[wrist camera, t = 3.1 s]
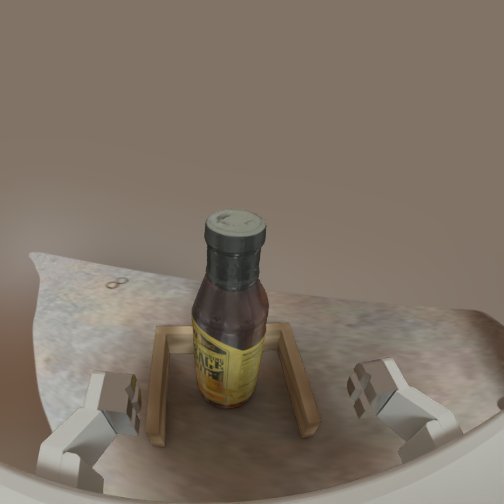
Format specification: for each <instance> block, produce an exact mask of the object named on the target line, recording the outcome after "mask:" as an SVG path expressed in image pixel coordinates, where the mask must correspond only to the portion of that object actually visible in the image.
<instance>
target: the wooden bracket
mask: <svg viewBox="0 0 504 504" xmlns="http://www.w3.org/2000/svg"><path fill="white" fill-rule="evenodd" d="M266 350H278V353H279V357H280V360H281V364H282V368H283V372H284V375H285V379H286V383H287V387H288V390H289V394H290V398H291V402H292V405H293V409H294V413H295V417H296V420H297V424H298V428H299V432H300V435H301V438H306V437H312V436H313V435H314V433H315V432H316V430H317V428H318V426H319V425H320V423H321V418H320V415H319V412H318V409H317V406H316V403H315V400H314V397H313V394H312V391H311V388H310V384H309V381H308V378H307V375H306V372H305V369H304V366H303V363H302V360H301V357H300V354H299V351H298V348H297V345H296V342H295V339H294V336H293V333H292V330H291V327H290V324H289V322H286V323H271V324H266V334H265V340H264V345H263V351H266ZM170 353H171V354H191V353H194V344H193V327H192V326H157V327H156V334H155V341H154V348H153V356H152V364H151V373H150V382H149V391H148V402H147V413H146V426H145V433H146V434H147V436H148V438H149V440H150V442H151V443H152V445H153V446H158V447H165V436H166V405H167V385H168V369H169V355H170Z"/></svg>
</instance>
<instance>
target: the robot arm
mask: <svg viewBox="0 0 504 504" xmlns="http://www.w3.org/2000/svg"><path fill="white" fill-rule="evenodd" d="M354 371H355V372H354V373H353V374H352V375H351V376H350V377H349V379H348V383H347V389H348V393H349V396H350V398H352V399H353V400H354V401H355V404H354V408H355V411H356V413H357V416H358V418H359V419H363V418H367V417H372V416H376V415H377V417H378V418H379V419H380V420H382V421H383V422H384V423H385V424H386V425H387V426H388V427H390V428H391V429H392V430H393V431H394V432H395V433H397V434H398V435H399V436H400V437H401V438H402V439H404V440H405V441H406V443H405V444H404V445H403V446H402V447H401V448H400V449H399V451H398V452H399V455H400V457H401V460H402V462H403V464H401V465H398V466H396V467H393V468H391V469H388V470H385V471H382V472H380V473H377V474H374V475H371V476H368V477H365V478H362V479H358V480H355V481H352V482H348V483H345V484H341V485H337V486H333V487H329V488H325V489H321V490H316V491H312V492H307V493H302V494H296V495H291V496H284V497H278V498H271V499H263V500H253V501H242V502H226V503H175V502H159V501H148V500H139V499H131V498H124V497H118V496H112V495H106V494H103V484H104V479H103V477H102V476H101V475H100V474H99V473H97V472H96V471H95V470H94V469H93V468H92V467H93V465H94V464H95V463H96V462H97V460H98V459H99V458H100V456H101V455H102V454H103V453H104V451H105V450H106V449H107V447H108V446H109V445H110V443H111V442H112V441H113V440H114V438H115V437H116V436H117V435H116V434H121V435H133V436H138V435H139V424H140V420H139V418H138V415H137V414H138V413H139V412H140V411H141V392H140V388H139V387H138V386H137V385H136V377H135V375H134V374H123V373H113V372H105V371H96V370H94V371H93V373H92V375H91V378H90V382H89V386H88V390H87V394H86V398H85V403H84V407H83V408H81V407H80V408H79V409H77V410H76V411H75V412H74V413H73V414H72V415H71V416H70V417H69V418H68V419H67V420H66V421H65V422H64V423H63V424H62V425H61V426H60V427H59V428H57V429H56V430H55V431H54V432H53V433H52V434H51V435H50V436H49V437H48V438H47V439H46V440H45V441H44V442H43V443H42V444H41V447H40V452H39V457H38V462H37V467H36V473H35V475H32V474H30V473H27V472H24V471H22V470H19V469H16V468H14V467H12V466H9V465H7V464H5V463H2V462H0V504H504V409H503V410H501V411H500V412H499V413H497V414H496V415H494V416H493V417H491V418H490V419H488V420H486V421H485V422H483V423H482V424H480V425H479V426H477V427H475V428H474V429H472V430H470V431H468V432H467V433H465V434H463V432H462V430H461V428H460V426H459V425H458V423H457V421H456V419H455V417H454V415H453V414H452V412H451V411H450V410H448V409H447V408H445V407H444V406H442V405H440V404H439V403H437V402H436V401H434V400H432V399H431V398H429V397H428V396H426V395H425V394H423V393H421V392H420V391H418V390H417V389H415V388H414V387H412V386H411V387H409V386H408V384H407V382H406V381H405V379H404V377H403V375H402V374H401V372H400V370H399V368H398V367H397V365H396V363H395V361H394V360H393V359H392V358H391V357H389V358H384V359H377V360H372V361H367V362H362V363H358V364H357V365H356V366H355V368H354Z"/></svg>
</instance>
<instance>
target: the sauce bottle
mask: <svg viewBox="0 0 504 504" xmlns="http://www.w3.org/2000/svg"><path fill="white" fill-rule="evenodd" d="M204 236H205V237H204V238H205V241H206V243H207V267H206V274H205V277H204V279H203V282H202V284H201V287H200V289H199V292H198V294H197V297H196V299H195V302H194V304H193V307H192V327H193V344H194V354H195V364H196V375H197V383H198V387H199V389H200V392H201V395H202V396H203V397H204V398H205V399H206V400H207V401H208V402H209V403H210V404H213V405H214V406H216V407H218V408H236V407H239V406H241V405H243V404H244V403H246V402H247V401H248V400H249V399H250V397H251V396H252V395H253V393H254V390H255V387H256V383H257V378H258V372H259V367H260V362H261V356H262V351H263V345H264V340H265V334H266V322H267V316H268V309H269V303H268V297H267V294H266V292H265V289H264V288H263V286H262V284H261V283H260V280H259V279H258V277H259V261H260V252H261V247H262V246H263V244H264V242H265V237H266V223H265V221H264V219H263V218H261V217H260V216H258V215H257V214H254V213H252V212H248V211H242V210H234V209H233V210H232V209H231V210H222V211H218V212H216V213H213V214H212V215H210V216H209V217H208V219H207V220H206V223H205V234H204Z"/></svg>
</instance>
